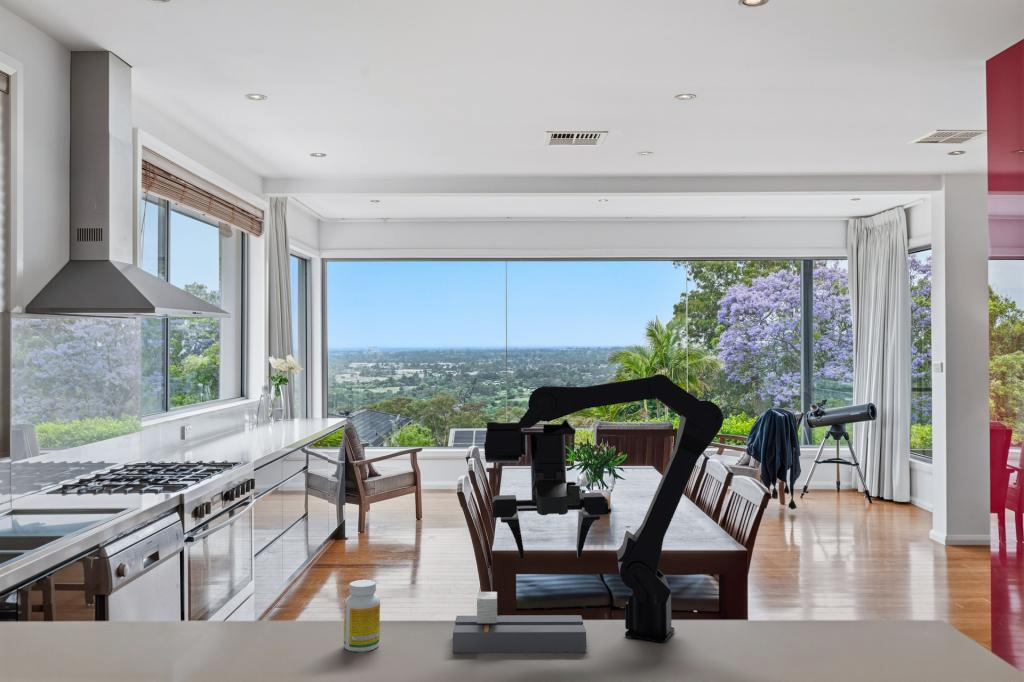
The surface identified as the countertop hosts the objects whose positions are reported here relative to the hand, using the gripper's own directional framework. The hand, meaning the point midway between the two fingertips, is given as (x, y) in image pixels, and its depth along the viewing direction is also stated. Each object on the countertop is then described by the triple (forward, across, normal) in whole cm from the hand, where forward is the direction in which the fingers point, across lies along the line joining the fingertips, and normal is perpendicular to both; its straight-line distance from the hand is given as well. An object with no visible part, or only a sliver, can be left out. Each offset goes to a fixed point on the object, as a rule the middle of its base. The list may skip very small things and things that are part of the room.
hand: (550, 558), depth 122 cm
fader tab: (+10, -11, -5) cm, 15 cm away
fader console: (+12, -6, -5) cm, 14 cm away
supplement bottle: (+11, -30, -6) cm, 32 cm away
